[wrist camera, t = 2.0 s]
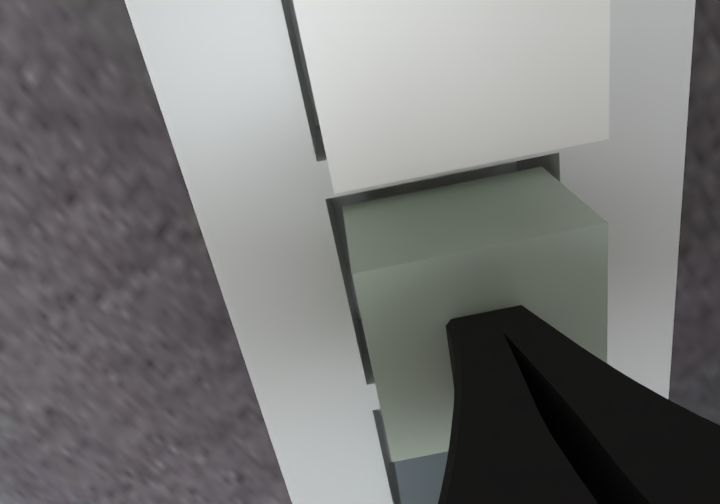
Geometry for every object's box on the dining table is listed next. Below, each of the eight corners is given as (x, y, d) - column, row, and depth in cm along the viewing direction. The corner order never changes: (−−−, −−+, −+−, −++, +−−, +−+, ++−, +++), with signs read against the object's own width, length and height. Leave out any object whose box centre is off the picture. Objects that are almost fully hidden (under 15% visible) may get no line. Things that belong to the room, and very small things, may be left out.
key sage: (541, 166, 12) (608, 223, 9) (549, 333, 14) (606, 420, 11) (342, 206, 12) (351, 274, 9) (376, 367, 14) (392, 462, 11)
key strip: (621, -716, 9) (765, -1032, 6) (609, 443, 20) (659, 524, 17) (-8, -581, 9) (-152, -830, 6) (319, 500, 20) (320, 589, 17)
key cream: (527, -155, 10) (611, -204, 7) (538, 98, 11) (609, 139, 9) (276, -104, 10) (264, -132, 7) (328, 141, 12) (334, 194, 9)
